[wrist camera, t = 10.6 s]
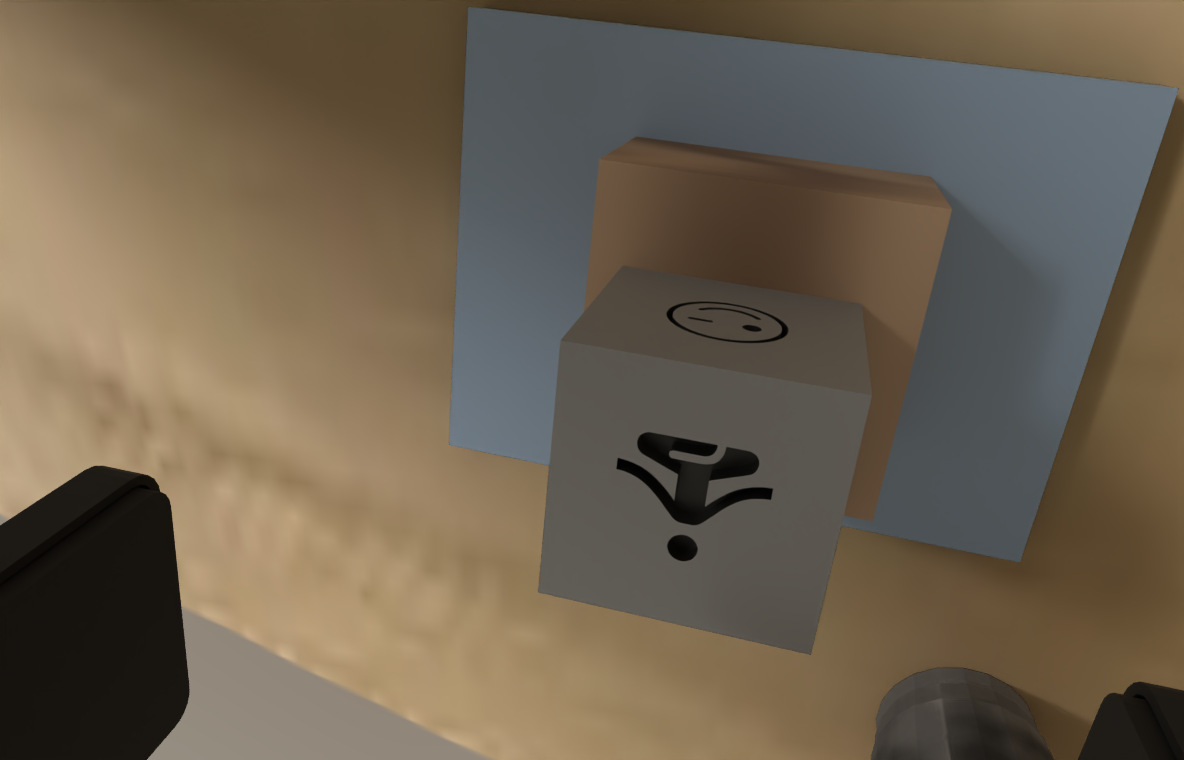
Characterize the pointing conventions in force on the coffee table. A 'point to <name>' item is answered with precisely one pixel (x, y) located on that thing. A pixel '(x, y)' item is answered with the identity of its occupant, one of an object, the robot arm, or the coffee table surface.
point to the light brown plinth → (784, 249)
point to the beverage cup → (956, 720)
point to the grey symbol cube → (705, 454)
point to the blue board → (827, 134)
